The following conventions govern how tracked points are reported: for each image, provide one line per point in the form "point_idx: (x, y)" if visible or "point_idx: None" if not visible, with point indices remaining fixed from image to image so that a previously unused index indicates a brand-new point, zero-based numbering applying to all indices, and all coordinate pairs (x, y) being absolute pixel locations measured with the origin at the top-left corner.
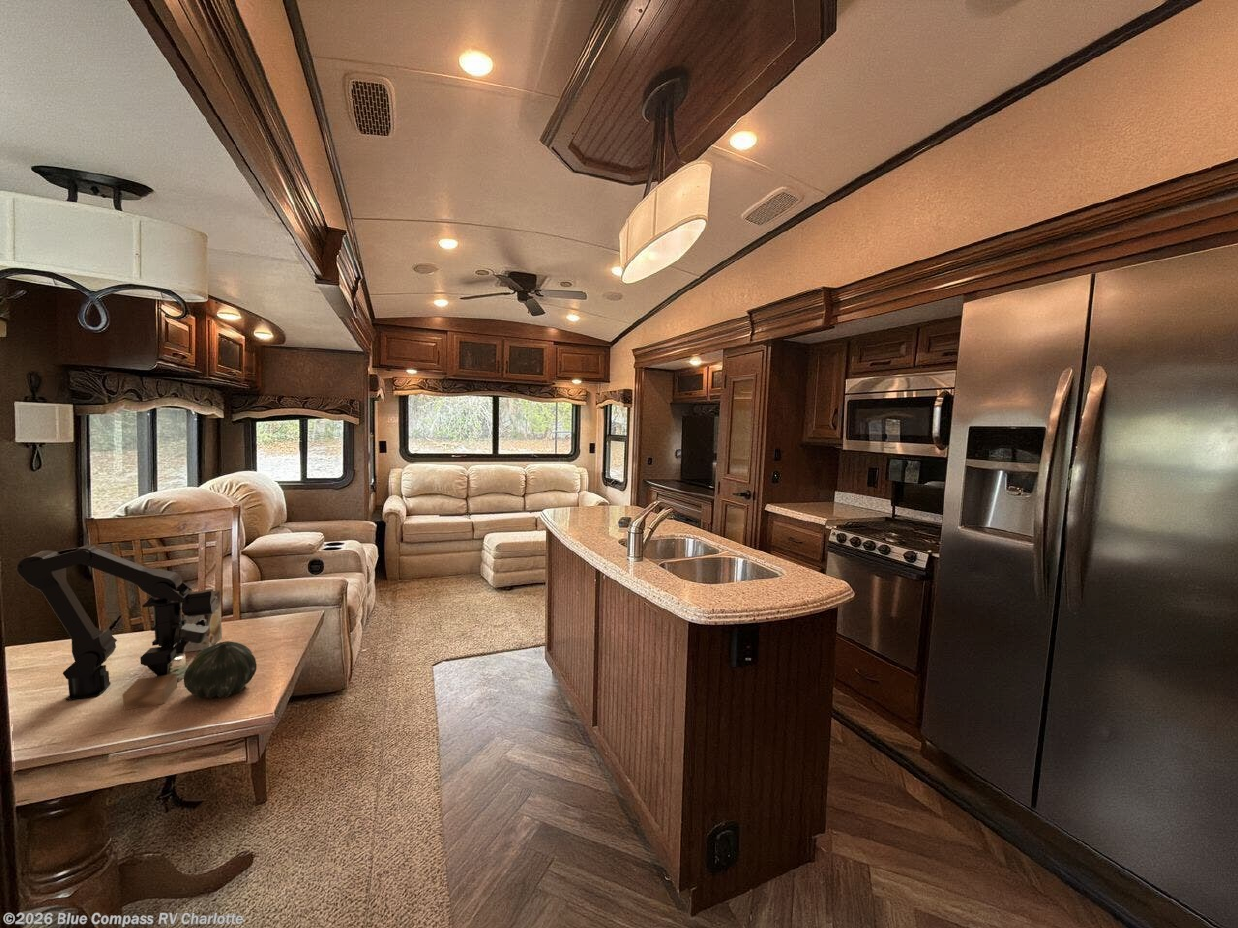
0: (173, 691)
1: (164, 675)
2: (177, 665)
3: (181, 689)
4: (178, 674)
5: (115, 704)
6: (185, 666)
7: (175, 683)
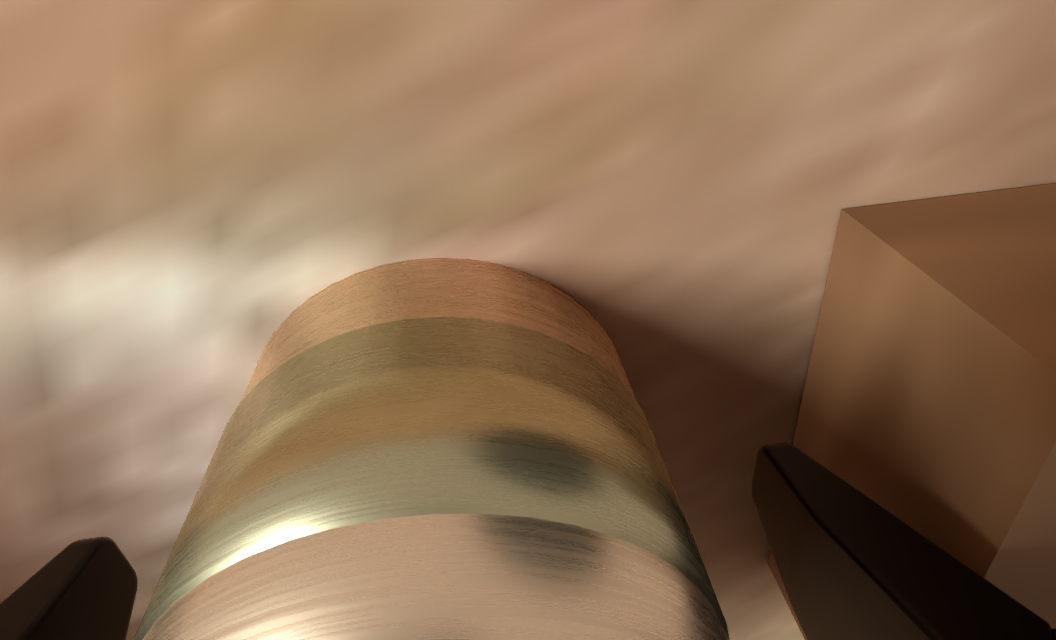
0: (1022, 192)
1: (1011, 559)
2: (668, 573)
3: (978, 93)
4: (593, 376)
5: None
6: (394, 400)
7: (984, 254)
